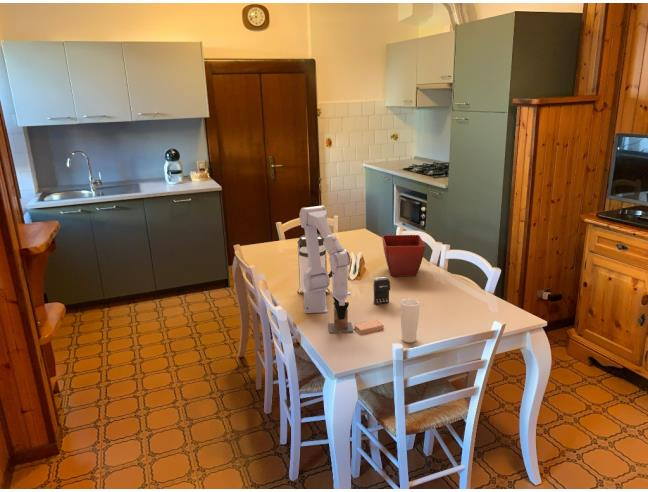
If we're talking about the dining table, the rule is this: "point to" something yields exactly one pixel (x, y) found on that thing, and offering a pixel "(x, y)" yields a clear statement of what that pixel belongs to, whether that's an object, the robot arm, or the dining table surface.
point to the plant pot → (403, 254)
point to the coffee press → (305, 262)
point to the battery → (381, 290)
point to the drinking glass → (409, 319)
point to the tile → (369, 326)
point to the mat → (333, 330)
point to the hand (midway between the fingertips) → (340, 315)
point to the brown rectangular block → (340, 323)
